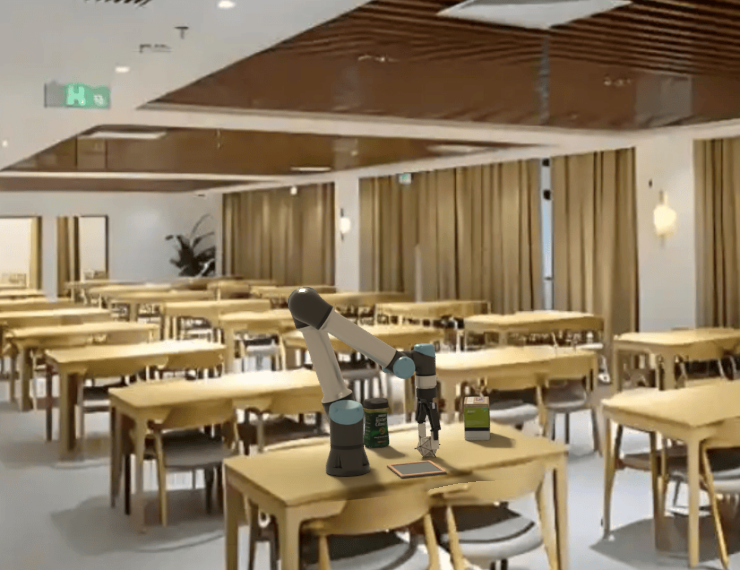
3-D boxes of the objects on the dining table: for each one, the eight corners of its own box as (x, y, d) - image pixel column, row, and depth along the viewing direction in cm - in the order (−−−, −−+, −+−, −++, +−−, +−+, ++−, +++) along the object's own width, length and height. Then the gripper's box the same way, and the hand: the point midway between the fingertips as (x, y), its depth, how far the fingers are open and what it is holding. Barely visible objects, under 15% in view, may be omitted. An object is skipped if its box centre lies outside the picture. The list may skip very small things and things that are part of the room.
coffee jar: (370, 449, 345) (369, 400, 344) (360, 445, 352) (359, 397, 351) (393, 446, 349) (391, 398, 348) (382, 442, 356) (381, 395, 355)
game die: (432, 468, 329) (438, 450, 323) (409, 459, 331) (415, 441, 325) (439, 451, 336) (445, 433, 330) (417, 442, 338) (422, 424, 332)
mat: (401, 478, 303) (401, 475, 303) (386, 467, 318) (386, 464, 318) (446, 473, 307) (446, 471, 307) (430, 462, 322) (430, 460, 322)
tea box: (465, 432, 371) (464, 396, 370) (490, 432, 370) (489, 396, 369) (464, 440, 356) (463, 402, 355) (490, 440, 355) (489, 402, 354)
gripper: (448, 391, 318) (451, 451, 320) (424, 380, 342) (426, 436, 343) (428, 393, 316) (430, 453, 317) (405, 382, 340) (407, 439, 341)
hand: (428, 445), depth 330 cm, fingers open, 13 cm apart
